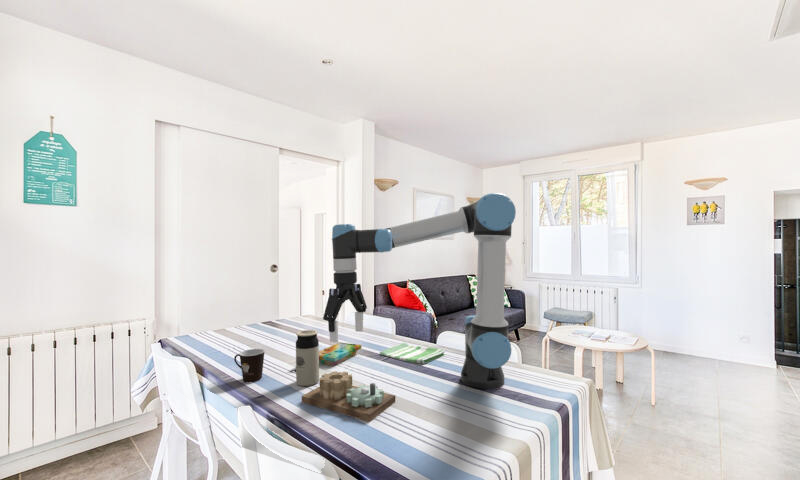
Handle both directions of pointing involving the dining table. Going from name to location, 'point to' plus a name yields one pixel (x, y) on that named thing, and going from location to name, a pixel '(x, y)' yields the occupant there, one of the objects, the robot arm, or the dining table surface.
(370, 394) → the gear
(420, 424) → the dining table surface
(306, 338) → the travel mug
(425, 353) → the dish towel
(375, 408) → the gear board
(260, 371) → the coffee mug
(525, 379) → the dining table surface
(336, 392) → the beech gear
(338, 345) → the puzzle game
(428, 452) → the dining table surface
